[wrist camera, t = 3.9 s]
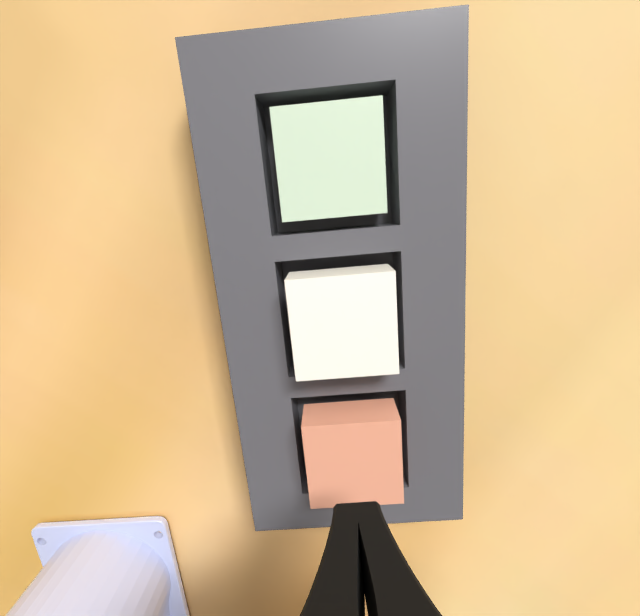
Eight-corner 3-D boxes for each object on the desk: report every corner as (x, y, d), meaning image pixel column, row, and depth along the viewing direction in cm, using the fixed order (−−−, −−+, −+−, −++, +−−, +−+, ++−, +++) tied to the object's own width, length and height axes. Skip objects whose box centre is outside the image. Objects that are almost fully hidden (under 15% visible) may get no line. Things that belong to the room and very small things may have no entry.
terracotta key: (396, 474, 18) (404, 503, 16) (312, 479, 18) (310, 509, 16) (393, 397, 17) (400, 419, 15) (303, 404, 17) (301, 426, 15)
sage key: (380, 212, 16) (387, 212, 14) (287, 220, 16) (282, 222, 14) (376, 108, 15) (382, 95, 13) (276, 118, 15) (269, 107, 13)
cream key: (391, 355, 16) (399, 374, 14) (299, 363, 16) (296, 381, 15) (387, 263, 15) (395, 270, 13) (289, 271, 15) (284, 280, 14)
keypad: (443, 475, 21) (462, 519, 18) (265, 486, 21) (255, 531, 18) (441, 42, 15) (468, 4, 13) (202, 68, 16) (175, 37, 13)
